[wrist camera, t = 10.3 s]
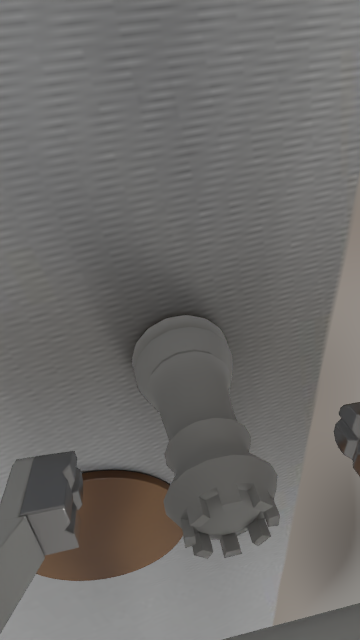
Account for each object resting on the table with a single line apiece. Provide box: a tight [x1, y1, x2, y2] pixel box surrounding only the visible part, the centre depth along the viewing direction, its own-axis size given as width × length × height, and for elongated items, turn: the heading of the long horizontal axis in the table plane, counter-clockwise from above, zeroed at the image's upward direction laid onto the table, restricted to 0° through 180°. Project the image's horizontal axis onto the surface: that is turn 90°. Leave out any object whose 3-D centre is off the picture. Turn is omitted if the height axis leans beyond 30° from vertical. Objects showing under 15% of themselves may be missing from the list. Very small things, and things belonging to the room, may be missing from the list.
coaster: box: [36, 470, 183, 581], centre depth 20 cm, size 11×11×1 cm
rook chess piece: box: [132, 315, 280, 559], centre depth 12 cm, size 4×4×8 cm
